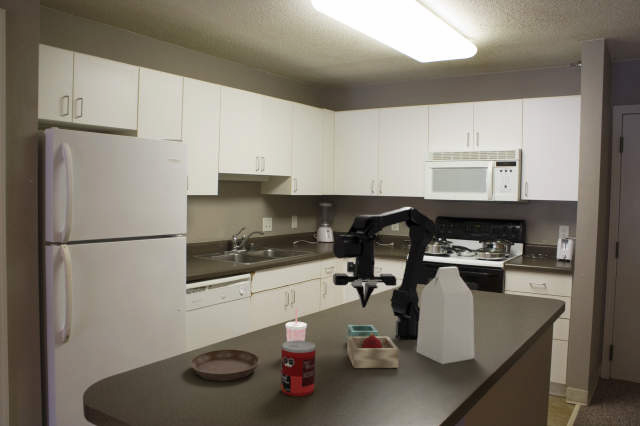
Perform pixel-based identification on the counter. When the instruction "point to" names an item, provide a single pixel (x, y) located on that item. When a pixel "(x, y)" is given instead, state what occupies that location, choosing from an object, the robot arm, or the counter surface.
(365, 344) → the onion
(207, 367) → the plant saucer
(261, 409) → the counter surface
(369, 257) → the robot arm
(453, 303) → the milk
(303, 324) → the beverage cup
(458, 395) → the counter surface
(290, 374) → the canned food
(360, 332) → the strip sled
